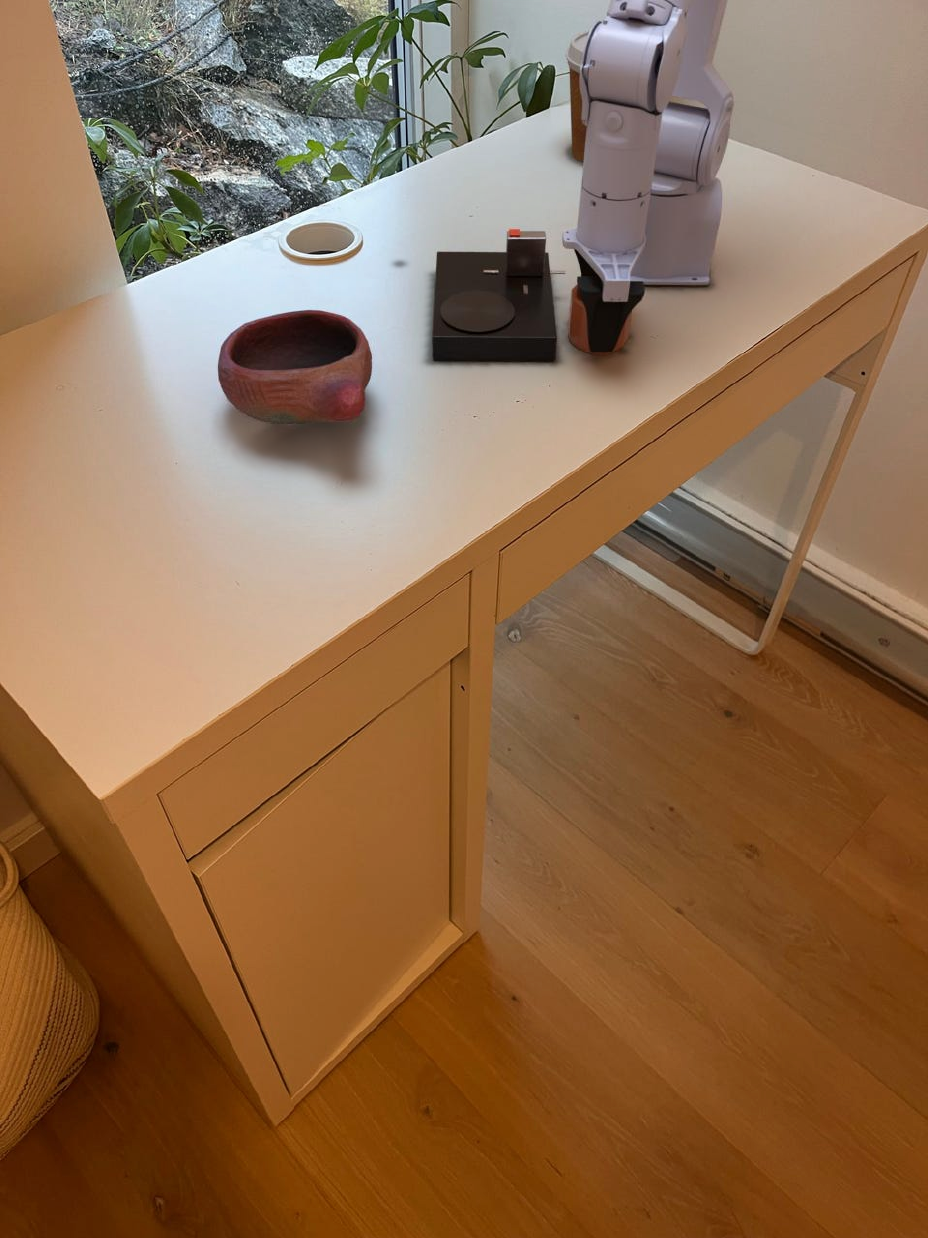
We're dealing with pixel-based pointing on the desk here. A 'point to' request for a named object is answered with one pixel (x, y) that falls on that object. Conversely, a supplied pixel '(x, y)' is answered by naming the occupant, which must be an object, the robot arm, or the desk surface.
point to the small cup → (579, 325)
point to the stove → (487, 272)
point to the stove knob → (525, 253)
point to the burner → (477, 311)
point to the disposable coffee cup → (576, 94)
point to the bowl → (296, 368)
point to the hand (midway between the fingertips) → (598, 331)
